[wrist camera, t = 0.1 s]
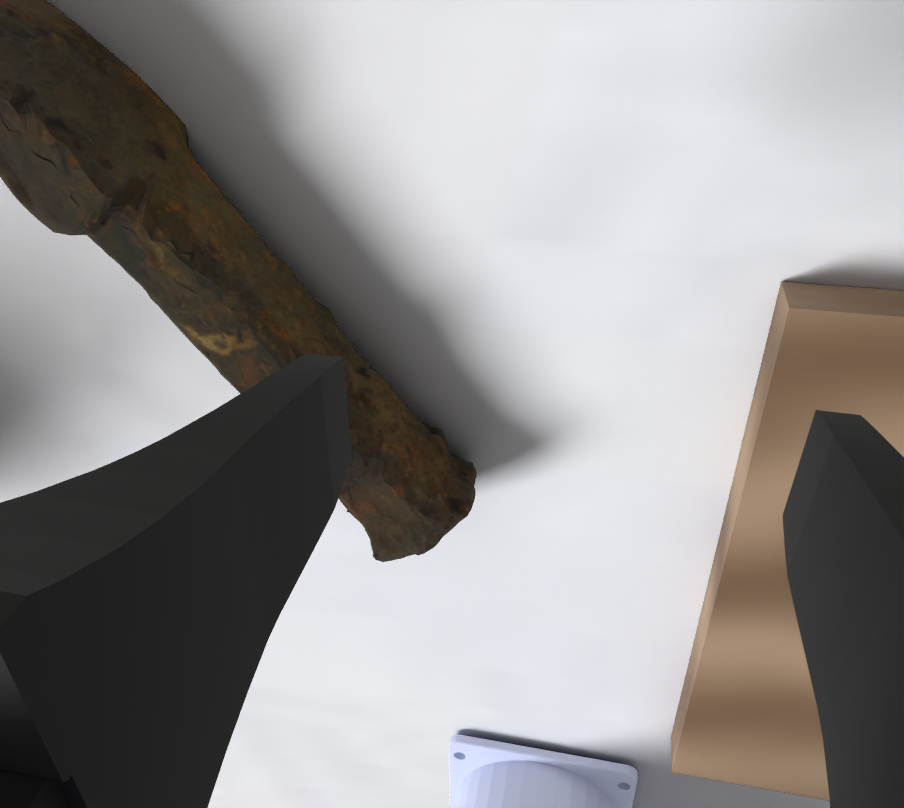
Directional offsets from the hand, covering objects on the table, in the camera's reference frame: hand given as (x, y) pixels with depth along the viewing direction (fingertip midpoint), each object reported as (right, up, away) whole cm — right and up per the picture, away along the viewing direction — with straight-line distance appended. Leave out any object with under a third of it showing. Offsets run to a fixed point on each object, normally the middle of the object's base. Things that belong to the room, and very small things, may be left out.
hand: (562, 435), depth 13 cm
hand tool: (-8, +5, +12) cm, 15 cm away
